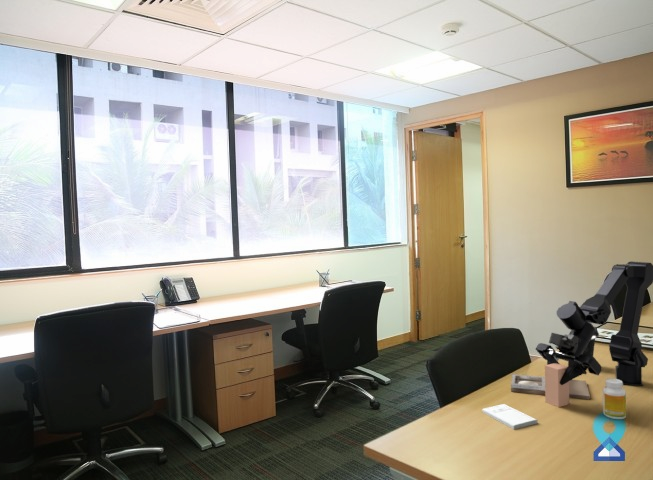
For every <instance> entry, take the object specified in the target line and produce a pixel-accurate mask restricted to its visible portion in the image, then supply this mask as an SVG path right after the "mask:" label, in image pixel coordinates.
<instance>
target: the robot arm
mask: <svg viewBox="0 0 653 480" xmlns="http://www.w3.org/2000/svg"><path fill="white" fill-rule="evenodd" d="M625 285H626V293H625V297H624V298H625V299H624V304H623V305H624V306H623V311H622V317H621V321H620V327H619V330H618V332H616V334H614V333H613V334H611V336H610V343H609V345H608V347H609V349H608V350H609V354H610V357H611V361H612V362H616V363H617V365H615V379H618V380H621V381H622V382H623V385H628V386H629V385H630V386H638V387H639V386H641V387H643V386H644V384H643V382H642V381H643V379H642V374H643V373H642V372H643V369H642V368H646V366H647V364H648V361H649V359H648V357H647V356H646V354H645V353H644V352H643V350H642V348H643V347H642V345H643V343H642V342H641V339H640V337H639V335H638V333H639V328H640V323H641V317H642V311H643V305H644V300H645V294H646V290H647V289H648V288H649V287H650V286H651V285H653V263H651V262H645V261H644V262H643V261H628V262H627V263H625V264H619V263H618V264H614V265H613V266H612V268H611V271H610V272H609V275H608V276H607V277H606V278H605V280H604V282H603V284H601V286H600V287H599V289H598V290H597V292H596V293H595V294H594V295H593V296H591V297H589V298H587V299H586V300H585V301H583V303H582V304H581V305H580V306H579V304H578V303H577V301H574V300H569V301H568V302H567V303H565V304H562V305H561V306H560V307H558V308H557V310H556V316H557V317H558V318H559V320H560V322H562V323H563V325H564V326H565V327H566V328H567V329H568V330H570V331H569V333H568V334H560V333H556V332H551V334H550V337H549V341H548V343H549V344H546V343H542V342H540V343H537V346H536V347H535V351H536V352H537V353H538V354H539V355H540V357H542V358H543V359H544V360H546V365H549V364H553V363H557V364H560V362H559V360H562V361H566V362H567V369H566V371H565V373H564V374H563V376H562V378H561V380H560V384H561V385H564V384H565V383H567V382H569V381H570V380H575V379H576V378H578V377H580V376H582V375H587V374H588V373H590V374H592V375H595V376H600V374H601V371H602V369H603V368H602V365H601V364H600V363H599V361H598V360H597V359H596V358H595V356H594V355H593V356H589V355H585V354H583V352H584V351H586V352H587V351H588V350H589V349H588V347H587V345H588V343H589V342H590V340H591V338H592V336H596V338H597V337H599V335H600V333H599V331H598V327H597V326H594V325H593V324H596V325H605V324H606V323H607V321H608V319H609V318H610V315H611V313H612V308H611V305H612V304H613V302H614V300H615V299H616V297H617V296H618V294H619V293H620V292H621V290H622V289H623V287H624V286H625ZM551 344H552V345H554V346H555V349H556V350H555V349H554V347H553V346H552V345H551ZM557 350H558V351H557ZM587 371H588V372H587Z"/></svg>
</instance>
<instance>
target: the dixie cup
mask: <svg viewBox="0 0 653 480" xmlns="http://www.w3.org/2000/svg"><path fill="white" fill-rule="evenodd" d="M596 339H597V336H592V338H591V340H590V342H589V343H588V345H587V347H588V349H589V350H588V351H587V352H586V351H584V352H583V354H585V355H589V356H593V357H594V353H595V344H596V343H595V342H596V341H595V340H596Z"/></svg>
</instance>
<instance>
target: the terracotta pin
mask: <svg viewBox="0 0 653 480" xmlns="http://www.w3.org/2000/svg"><path fill="white" fill-rule="evenodd" d="M567 367H568V365H565V364H564V365H563V364H561V363H559V364H557V363H553V364H549V365H547V364H545V365H544V377H545V395H544V397H545V398H544V399H545V403H547V404H549V405H553V406H554V407H558V408H560V407H564V406H566V405H570V397H569V382H567V383H565V384H564V385H561V384H560V380H561V378H562V376H563V374H564V373H565V371H566V369H567Z"/></svg>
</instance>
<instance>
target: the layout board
mask: <svg viewBox="0 0 653 480" xmlns="http://www.w3.org/2000/svg"><path fill="white" fill-rule="evenodd" d="M511 375H512V376H511V381H510V391H511V392H512V393H520V394H521V393H522V394H530V395H541V396H545V376H539V375H538V376H537V375H523V374H515V373H513V374H511ZM572 398H573V399H579V400H580V399H581V400H582V399H583V400H591V395H590V391H589V387H588V384H587V381H586V380H582V379H581V380H579V379H572V380H570V381H569V399H572Z"/></svg>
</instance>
